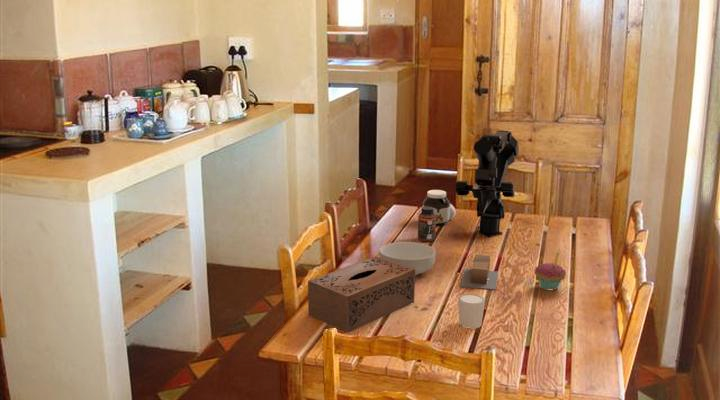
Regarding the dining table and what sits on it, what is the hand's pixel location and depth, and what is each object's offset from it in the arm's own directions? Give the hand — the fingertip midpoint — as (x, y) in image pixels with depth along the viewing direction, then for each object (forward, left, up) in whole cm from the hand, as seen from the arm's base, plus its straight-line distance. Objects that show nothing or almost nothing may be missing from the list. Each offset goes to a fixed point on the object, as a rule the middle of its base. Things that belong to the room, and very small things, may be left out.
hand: (482, 212), depth 237 cm
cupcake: (+2, +32, -14) cm, 35 cm away
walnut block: (+10, +12, -11) cm, 19 cm away
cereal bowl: (+30, +1, -14) cm, 33 cm away
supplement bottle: (+7, -20, -14) cm, 25 cm away
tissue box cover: (+56, +17, -14) cm, 60 cm away
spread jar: (-9, -34, -14) cm, 37 cm away
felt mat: (+15, +17, -14) cm, 27 cm away
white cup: (+37, +39, -14) cm, 56 cm away
